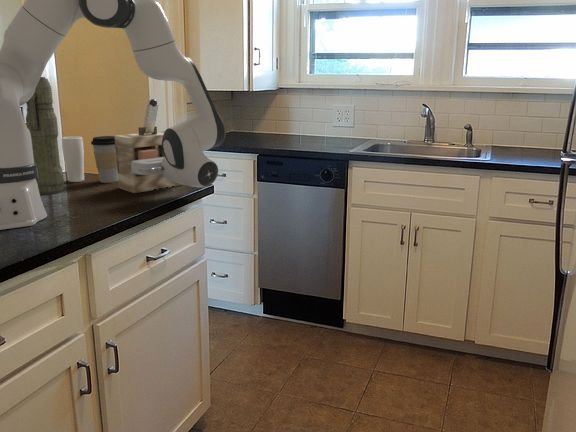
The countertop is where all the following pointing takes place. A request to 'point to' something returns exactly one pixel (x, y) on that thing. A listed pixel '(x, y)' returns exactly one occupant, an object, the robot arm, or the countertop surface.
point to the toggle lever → (150, 116)
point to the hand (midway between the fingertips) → (152, 161)
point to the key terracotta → (146, 154)
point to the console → (128, 152)
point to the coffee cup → (105, 158)
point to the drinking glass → (73, 157)
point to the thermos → (45, 138)
